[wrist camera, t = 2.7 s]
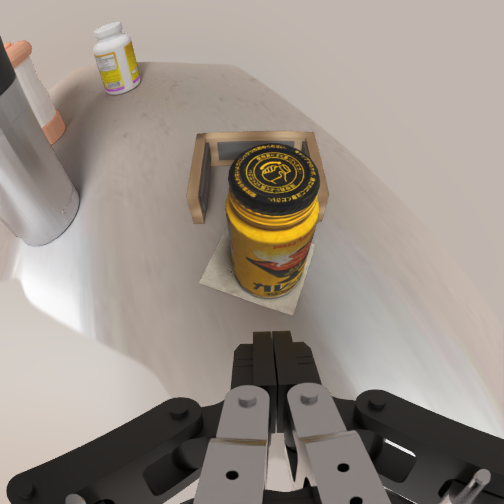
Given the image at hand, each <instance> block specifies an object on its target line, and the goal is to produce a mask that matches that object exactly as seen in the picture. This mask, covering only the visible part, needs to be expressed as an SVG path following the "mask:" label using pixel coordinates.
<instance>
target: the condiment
mask: <svg viewBox="0 0 504 504" xmlns="http://www.w3.org/2000/svg"><path fill="white" fill-rule="evenodd" d="M228 181H229V186H230V187H229V193H228V196H227V200H226V217H227V227H226V229H225V231H224V233H223V235H222V237H221V239H220V241H219V243H218V245H217V247H216V249H215V251H214V253H213V256H212V257H211V259H210V261H209V263H208V265H207V267H206V270H205V272H204V273H203V275H202V277H201V279H200V281H199V284H202V285H205V286H208V287H211V288H213V289H216V290H220V291H222V292H225V293H228V294H231V295H233V296H236V297H239V298H242V299H244V300H247V301H250V302H253V303H256V304H259V305H262V306H265V307H268V308H270V309H274V310H277V311H280V312H283V313H286V314H290V315H293V314H294V311H295V308H296V305H297V303H298V299H299V296H300V293H301V290H302V287H303V284H304V281H305V278H306V274H307V271H308V268H309V265H310V261H311V258H312V255H313V252H314V248H315V245H316V244H315V243H312V239H313V235H314V231H315V227H316V224H317V222H318V217H319V202H318V199H317V197H318V190H319V188H320V176H319V173H318V169H317V167H316V165H315V164H314V162H313V161H312V160H311V158H310V157H309V156H308V155H306V154H305V153H304V152H302V151H300V150H298V149H296V148H294V147H291V146H288V145H284V144H280V143H266V144H261V145H258V146H255V147H252V148H250V149H248V150H246V151H244V152H242V153H241V154H239V155H238V157H237V158H236V159H235V160H234V162H233V163H232V165H231V167H230V170H229V176H228ZM229 268H230V270H231V272H230V271H229V270H228V269H229ZM232 272H233V275H232V274H231V273H232Z"/></svg>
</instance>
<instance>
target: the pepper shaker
mask: <svg viewBox="0 0 504 504" xmlns="http://www.w3.org/2000/svg"><path fill="white" fill-rule="evenodd" d="M4 48H5V50H6V52H7V55H8V57H9V59H10V62H11V64H12V66H13V68H14V71H15V73H16V75H17V77H18V80H19V82H20V84H21V87H22V89H23V91H24V93H25V95H26V97H27V99H28V102H29V104H30V106H31V108H32V110H33V112H34V114H35V116H36V118H37V120H38V122H39V124H40V126H41V128H42V130H43V132H44V134H45V136H46V137H47V139H48V141H49V143H50V145H52V144H53V143H55V142H56V141H57V140H58V139H59V138H60V137H61V136H62V135H63V133H64V131H65V128H66V126H65V124H64V122H63V120H62V117H61V115H60V113H59V111H58V109H56V108H54V105H53V103H52V100H51V98H50V95H49V93H48V92H47V90H46V89H45V87H44V86H43V84H42V83H41V81H40V80H39V78H38V76H37V74H36V71H35V69H34V67H33V64H32V61H31V59H30V57H29V55H30V54H31V52H32V46H31V45H30V43H29V42H27V41H25V40H24V41H18V42H16V43H14V44H12V45H11V43H10V42H7V43H6V44H4Z"/></svg>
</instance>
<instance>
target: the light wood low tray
mask: <svg viewBox="0 0 504 504" xmlns="http://www.w3.org/2000/svg"><path fill="white" fill-rule="evenodd" d="M266 143H280V144H284V145H288V146H291V147H294V148H296V149H298V150H300V151H302V152H304V153H305V154H306V155H308V156H309V157H310V158H311V160H312V161H313V162H314V164H315V165H316V167H317V169H318V173H319V176H320V188H319V190H318V197H317V199H318V202H319V217H318V221H322V218H323V215H324V211H325V208H326V204H327V200H328V197H329V192H328V187H327V183H326V179H325V174H324V170H323V166H322V162H321V158H320V154H319V150H318V146H317V142H316V138H315V135H314V132H293V131H252V132H221V133H203V134H197V137H196V143H195V148H194V154H193V160H192V166H191V172H190V178H189V184H188V191H187V201H188V204H189V208H190V211H191V215H192V219H193V222H194V224H202V223H204V218H205V212H206V206H207V196H208V185H209V176H210V166H225V165H232V163H233V162H234V160H235V159H236V158H237V157H238V155H239V154H241V153H242V152H244V151H246V150H248V149H250V148H252V147H255V146H258V145H261V144H266Z"/></svg>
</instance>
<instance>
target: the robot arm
mask: <svg viewBox="0 0 504 504" xmlns="http://www.w3.org/2000/svg"><path fill="white" fill-rule="evenodd" d="M78 206H79V195H78V192H77V191H76V189H75V187H74V186H73V184H72V182H71V181H70V179H69V177H68V175H67V174H66V172H65V170H64V168H63V166H62V165H61V163H60V161H59V159H58V158H57V156H56V154H55V152H54V150H53V149H52V147H51V145H50V143H49V141H48V139H47V137H46V136H45V134H44V132H43V130H42V128H41V126H40V124H39V122H38V120H37V118H36V116H35V114H34V112H33V110H32V108H31V106H30V104H29V102H28V99H27V97H26V95H25V93H24V91H23V89H22V87H21V84H20V82H19V80H18V77H17V75H16V73H15V71H14V68H13V66H12V64H11V62H10V59H9V57H8V55H7V52H6V50H5V48H4V45H3V42H2V40H1V37H0V220H1V221H2V222H3V223H4V224H5V225H6V226H7V227H8V229H9V230H10V231H11V232H12V233H13V234H14V235H15V236H16V237H20V238H21V239H22V240H23V241H24V242H25V243H26V244H28V245H31V246H41V245H44V244H47V243H49V242H51V241H52V240H54V239H55V238H57V237H58V236H59V235H60V234H61V233H63V232H64V231H65V229H66V228H67V227H68V226H69V225H70V223H71V222H72V220H73V218H74V217H75V214H76V212H77V210H78ZM276 425H277V433H284V439H285V440H284V452H285V457H286V462H287V466H288V471H289V476H290V480H291V485H292V491H291V492H279V491H272V490H266V489H267V473H268V456H269V446H270V444H271V433H275V426H276ZM386 439H387V440H389V441H391V442H393V443H395V444H397V445H399V446H401V447H403V448H405V449H407V450H410V451H411V452H413V453H414V454H415V456H416V457H414V456H412V455H410V454H408V453H406V452H404V451H402V450H400V449H398V448H396V447H394V446H392V445H390V444H388V443H386V442H385V441H386ZM199 477H200V479H199V483H198V487H197V490H196V494H195V498H193V499H190V500H187V501H185V502H183V503H180V504H415V503H413V502H416V503H417V504H504V439H501V438H499V437H496V436H493V435H490V434H488V433H485V432H482V431H479V430H477V429H474V428H472V427H469V426H466V425H464V424H461V423H459V422H456V421H454V420H451V419H449V418H446V417H444V416H442V415H439V414H437V413H434V412H432V411H430V410H427V409H425V408H423V407H420V406H418V405H416V404H413V403H411V402H409V401H407V400H404V399H402V398H400V397H398V396H395V395H393V394H391V393H389V392H386V391H383V390H368V391H365V392H363V393H361V394H360V395H359V396H358V397H357V399H356V401H354V400H344V399H339V398H335V397H333V396H331V394H330V392H329V390H328V389H327V388H325V387H324V386H322V384H321V381H320V377H319V374H318V371H317V367H316V364H315V361H314V358H313V355H312V351H311V348H310V347H309V346H307V345H306V344H305V343H304V342H293V341H292V337H291V332H290V331H272V337H271V332H253V344H240V345H239V346H238V347H237V348H236V350H235V351H234V360H233V370H232V380H231V390H230V391H229V392H228V393H227V395H226V397H225V400H223V401H222V402H220V403H218V404H215V405H211V406H206V407H200V405H199V404H198V403H197V402H196V401H194V400H192V399H189V398H183V397H179V398H172V399H169V400H167V401H165V402H163V403H161V404H160V405H158V406H156V407H154V408H153V409H151V410H149V411H147V412H146V413H144V414H142V415H140V416H139V417H137V418H135V419H133V420H131V421H129V422H128V423H125V424H124V425H122V426H120V427H118V428H116V429H114V430H112V431H110V432H109V433H107V434H105V435H103V436H101V437H99V438H97V439H95V440H93V441H91V442H89V443H87V444H85V445H83V446H81V447H78V448H76V449H74V450H72V451H70V452H68V453H66V454H64V455H62V456H59V457H57V458H55V459H53V460H50V461H48V462H46V463H44V464H41V465H39V466H37V467H34V468H32V469H30V470H27V471H25V472H22V473H20V474H18V475H16V476H14V477H13V478H12V479H11V480H10V481H9V483H8V485H7V497H8V499H9V501H10V502H11V504H163V503H164V502H166V501H167V500H169V499H170V498H172V497H173V496H175V495H176V494H177V493H179V492H180V491H182V490H183V489H185V488H186V487H187V486H189V485H190V484H191V483H193V482H194V481H195V480H197V479H198V478H199ZM383 486H385V487H386V488H388V489H390V490H392V491H394V492H392V491H390V490H388V489H384V487H383ZM395 492H396V493H398V494H400V495H401V496H400V495H398V494H396V493H395ZM402 496H403V497H402ZM404 497H405V498H408V499H409V500H411V501H413V502H411V501H409V500H407V499H405V498H404Z"/></svg>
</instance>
